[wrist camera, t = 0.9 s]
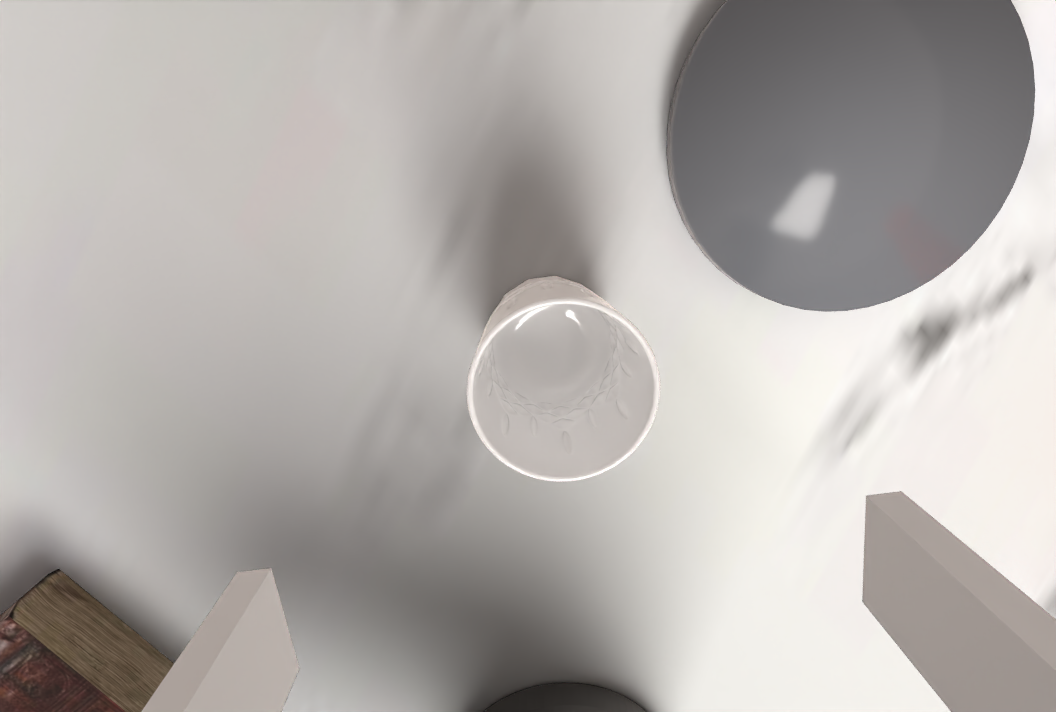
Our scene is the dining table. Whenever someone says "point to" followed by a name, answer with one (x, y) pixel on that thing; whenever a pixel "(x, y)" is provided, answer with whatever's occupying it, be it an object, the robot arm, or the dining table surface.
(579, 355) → the white cup
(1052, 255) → the dining table surface
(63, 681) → the hardback book
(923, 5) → the slate plate
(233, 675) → the robot arm
